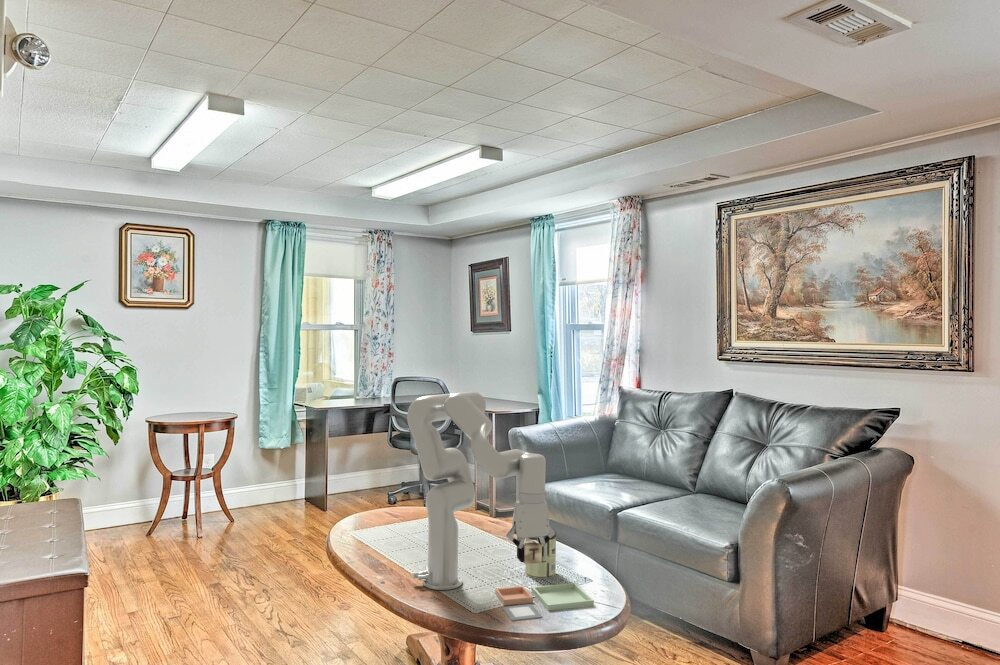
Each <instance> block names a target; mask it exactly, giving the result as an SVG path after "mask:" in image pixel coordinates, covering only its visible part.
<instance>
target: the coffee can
mask: <svg viewBox="0 0 1000 665" xmlns="http://www.w3.org/2000/svg"><path fill="white" fill-rule="evenodd" d="M553 531H554V532H555V535H554V536H552V537H551V538H550V540H549V541H548V542H547V543H546V545H545V546H544V556H543V557H542V563H533V564H524V566H525V570H524V571H525V572H524V575H525V576H526V577H530V578H535V579H539V580H540V579H550V578H551V579H552V578H553V577H555V575H556V563H557V561H556V554H557V553H556V552H557V551H556V550H557V531H555V530H553ZM530 540H536V541H537V542H538V539H537V537H534V538H525V541H530Z"/></svg>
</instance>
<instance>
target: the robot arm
mask: <svg viewBox="0 0 1000 665" xmlns="http://www.w3.org/2000/svg"><path fill="white" fill-rule="evenodd" d="M486 409H487V403H486V400H485V398H484V396H482V395H481V393H479V392H476V391H464V392H463V391H462V392H456V393H442V394H431V395H424V396H421V397H420V396H419V397H418V398H415V400H413V401H412V402H411V404H409V407H408V410H407V414H406V415H407V416H406V419H407V425H408V428H409V431H410V433H411V436H412V438H413V441H414V443H415V447H416V448H415V449H416V451H417V452H416V453H417V455H418V459H419V462H420V466H421V470H422V473H423V476H424V477H425V479H426V480H427V481H430V482H436V481H441V480H445V479H446V480H447V481H448V482H444V483H443V482H442V483H440V484H437V485H435V486H433V487H431V488H430V489H429V490H428V492H427V493H426V496H425V507H426V511H427V519H428V520H427V521H428V527H427V528H428V531H427V532H428V541H427V542H428V545H427V547H428V548H427V550H428V551H427V566H426V567H425V569H423V570H422V571H413V572H412V578H413V579H417V580H418V581H422V585H423V586H424V587H425V588H427V589H430V590H436V591H448V590H454V589H457V588H459V587H460V586H462V584H463V577H461V576H460V575H458V574H459V570H458V569H459V525H458V521H457V519H456V517H455V513H456V512H459V511H462V510H465V509H468V508H470V507H471V506H472V505H473V504H474V502H475V499H476V489H475V485H474V482H473V478H472V474H471V471H470V468H469V463H468V460H467V459H466V458H467V457H466V456H465V454H464V453H463V452H462V451H461V450H460V449H458V448H456V447H447V448H445V447H444V444H443V440H442V437H441V434H440V432H439V431H438V429H437V428H436V427H435V425H433V424H432V423H433V422H441V421H447V420H452V422H453V423H454V424H455V425H456V426H457V427H458V429H460V430H461V432H463V433H464V435H465V436H466V437H467V438H468V439H469V440H470V445H471V447H470V448H471V451H472V454H473V457H474V460H475V461H476V463H477V464H478V465H480V467H481V468H482V469H483V471H485V472H486V473H487V475H489V476H491V477H492V478H494V479H496V480H502V479H506V478H510V477H515V476H519V479H518V500H516V501H515V503H514V508H513V513H512V514H513V515H512V520H511V521H512V522H511V523H512V524H511V528H510V529H509V531H508V532H507V534H506V535H505V536H506V538H507V539H508V540H510V541H511V542H512V543H513V544H514V545H515V546H516V557H517V559H518V561H519V562H520V563H523V562H524V548H523V544H524V541H526V538H534V537H537V539H538V542H539V543H540V544H541V545H542V557H543V556H544V546H545V545H546V543H547V542H548V541H549V540H550V538H551V537H552V536H554V535H555V532H556V531H555V530H554V531H555V532H554V531H553V528H552V527H551V526H550V518H549V517H550V516H549V514H550V513H549V508H548V503H547V501H546V498H549V497H550V493H549V492H548V491H546V467H547V466H546V464H547V462H546V461H547V460H546V457H545V456H544V455H542V454H540V453H534V452H533V453H531V452H527V451H525V450H522V449H520V448H518V449H517V448H515V449H510V450H504V451H498V450H497V449H496V448H495V447H494V446H493V445H492V444H491V443H490V441H489V440H488V436H489V435H490V433H491V432H492V428H493V422H492V420H491V419H490V418H489V417H487V415H486V414H485V412H486ZM515 535H516V538H515V537H514V536H515Z"/></svg>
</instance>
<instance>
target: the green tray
mask: <svg viewBox="0 0 1000 665" xmlns="http://www.w3.org/2000/svg"><path fill="white" fill-rule="evenodd" d="M530 591H531V593H532V594H533V595H534V596H535V598H536V599H537V600H538V601H539V602H540V604H541V605H542V606H544V608H545V609H546V610H547V611H556V610H564V609H565V610H566V609H575V608H585V607H592V606H594V605H595V600H594V599H593V598H592V597H591V596H590V595H588V593H586V592H585V591H584V590H583V589H582V588H581V587H580V586H579V585H578V584H577V583H576V582H572V583H569V582H568V583H561V584H560V583H559V584H558V583H557V584H549V585H538V586H531V590H530Z"/></svg>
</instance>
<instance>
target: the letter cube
mask: <svg viewBox="0 0 1000 665" xmlns="http://www.w3.org/2000/svg"><path fill="white" fill-rule="evenodd" d="M523 548H524V562H522V563H523V564H524V565H525V564H533V563H542V545H541V544H540V543H539V542H537V541H536V540H530V541H526V540H525V541H524V544H523Z"/></svg>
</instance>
